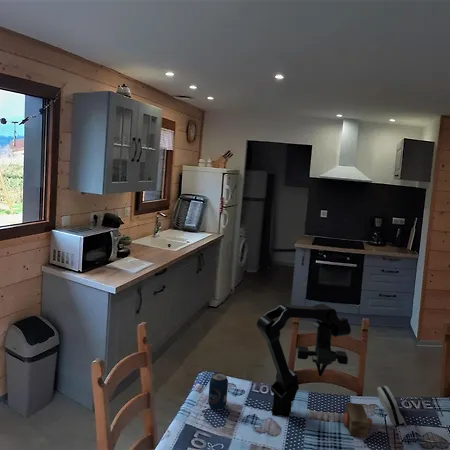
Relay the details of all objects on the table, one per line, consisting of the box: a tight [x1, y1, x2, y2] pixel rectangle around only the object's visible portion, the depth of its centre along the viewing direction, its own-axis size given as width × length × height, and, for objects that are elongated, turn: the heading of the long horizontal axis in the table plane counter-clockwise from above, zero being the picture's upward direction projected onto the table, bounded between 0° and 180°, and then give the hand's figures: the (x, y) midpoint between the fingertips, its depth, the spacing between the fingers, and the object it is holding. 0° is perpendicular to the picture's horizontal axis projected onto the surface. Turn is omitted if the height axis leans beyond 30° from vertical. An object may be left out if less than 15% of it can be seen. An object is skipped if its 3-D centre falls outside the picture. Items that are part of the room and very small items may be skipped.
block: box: [344, 401, 370, 439], centre depth 160 cm, size 6×12×6 cm, turn 175°
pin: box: [342, 412, 373, 427], centre depth 160 cm, size 10×4×4 cm, turn 85°
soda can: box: [207, 372, 229, 410], centre depth 167 cm, size 7×7×12 cm
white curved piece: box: [376, 385, 407, 427], centre depth 171 cm, size 17×5×10 cm, turn 177°
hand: (319, 375), depth 172 cm, fingers closed
